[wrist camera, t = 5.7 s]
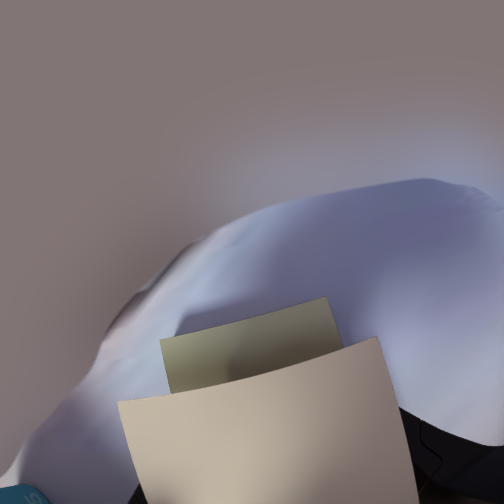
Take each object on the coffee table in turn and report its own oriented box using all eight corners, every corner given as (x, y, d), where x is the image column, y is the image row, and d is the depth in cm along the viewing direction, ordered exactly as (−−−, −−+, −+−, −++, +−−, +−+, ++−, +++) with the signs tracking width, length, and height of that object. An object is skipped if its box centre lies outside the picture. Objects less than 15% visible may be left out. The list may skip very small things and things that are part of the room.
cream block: (331, 450, 12) (423, 534, 3) (236, 476, 12) (193, 591, 2) (305, 364, 14) (376, 335, 5) (210, 389, 14) (117, 401, 5)
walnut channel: (390, 566, 9) (409, 588, 5) (261, 602, 8) (260, 630, 5) (320, 304, 18) (333, 285, 15) (169, 344, 18) (146, 334, 14)
